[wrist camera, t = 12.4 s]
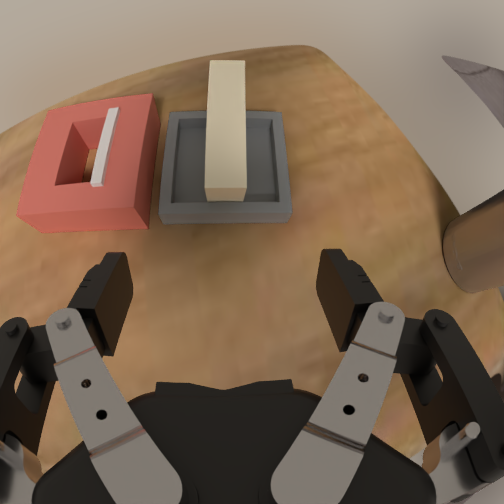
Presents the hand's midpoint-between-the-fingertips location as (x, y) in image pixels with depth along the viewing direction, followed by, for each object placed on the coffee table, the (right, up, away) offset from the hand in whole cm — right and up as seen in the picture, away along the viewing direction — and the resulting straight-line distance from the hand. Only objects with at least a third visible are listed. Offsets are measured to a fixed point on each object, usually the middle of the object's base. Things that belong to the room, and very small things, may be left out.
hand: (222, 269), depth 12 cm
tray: (-1, +9, +16) cm, 19 cm away
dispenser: (-14, +9, +15) cm, 22 cm away
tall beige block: (-1, +5, +12) cm, 13 cm away
